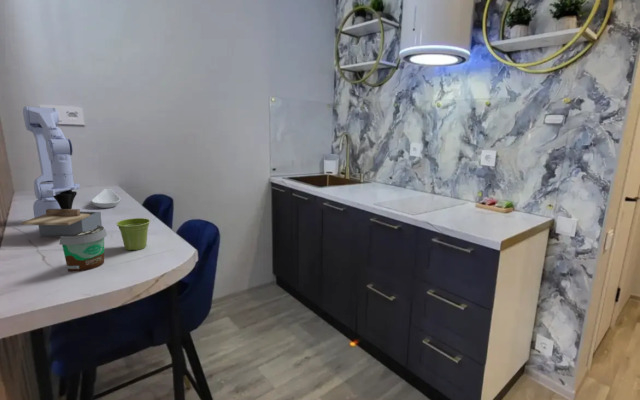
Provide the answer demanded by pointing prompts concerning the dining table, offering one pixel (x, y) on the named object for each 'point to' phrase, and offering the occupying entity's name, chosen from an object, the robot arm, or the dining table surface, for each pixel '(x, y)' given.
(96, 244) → the food container
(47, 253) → the dining table surface
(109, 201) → the spoon rest
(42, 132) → the robot arm
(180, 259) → the dining table surface
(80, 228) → the box
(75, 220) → the lid
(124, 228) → the plant pot
